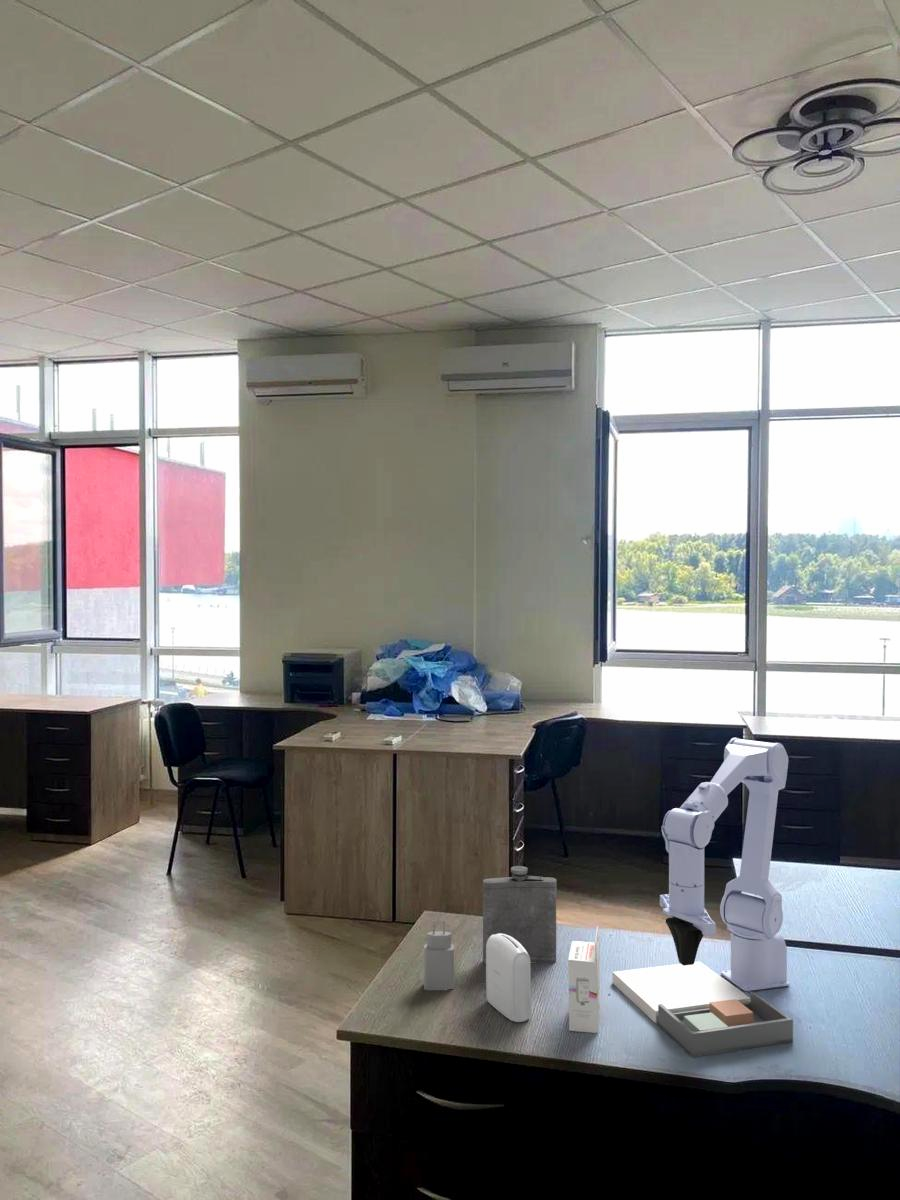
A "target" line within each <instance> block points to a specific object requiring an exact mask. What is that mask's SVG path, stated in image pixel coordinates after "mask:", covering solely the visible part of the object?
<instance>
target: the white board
mask: <svg viewBox="0 0 900 1200" xmlns="http://www.w3.org/2000/svg"><path fill="white" fill-rule="evenodd" d="M612 984H613V985H614V986H615V987H616V988H617V989H618V990H620V991H621V992H622V994H624V995H625V996H626V997H627V998H628V999H629V1000H630V1001H631V1002H632V1003H633V1004H634V1005H635V1006H636V1007H638V1008H639V1009H640V1010H641V1011H642V1012H643V1013H644V1014H645V1015H646V1016H647V1017H648V1018H649V1019H650V1020H652V1021H653V1022H654V1023H655V1024H656V1015H658V1004H662V1005H663V1006H664V1007H666V1008H667V1009H668V1010H669V1011H670V1012H671V1013H674V1012H681V1011H688V1010H696V1009H703V1008H709V1004H710V1002H717V1001H725V1000H733V999H737V1000H738V1001H739V1002H740V1003H746V1002H750V996H748V994H747V995H746V993H744V992H743V991H741V990H740V988H738V987H736V986H734V985H733V984H732V983H731V982H729V980H726V979H725V978H724V977H722V976H720V975H719V974H718V973H717V972H716V971H714V970H712V969H711V968H710V967H709V966H707V965H706V964H704V963H703V962H702V961H700V960H699V961H695V962H694V964H693V965H685V966H684V965H682V964H681V963H673V964H668V965H667V964H666V965H658V966H650V967H642V968H633V969H632V968H631V969H625V970H624V969H623V970H616V971H612Z"/></svg>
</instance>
